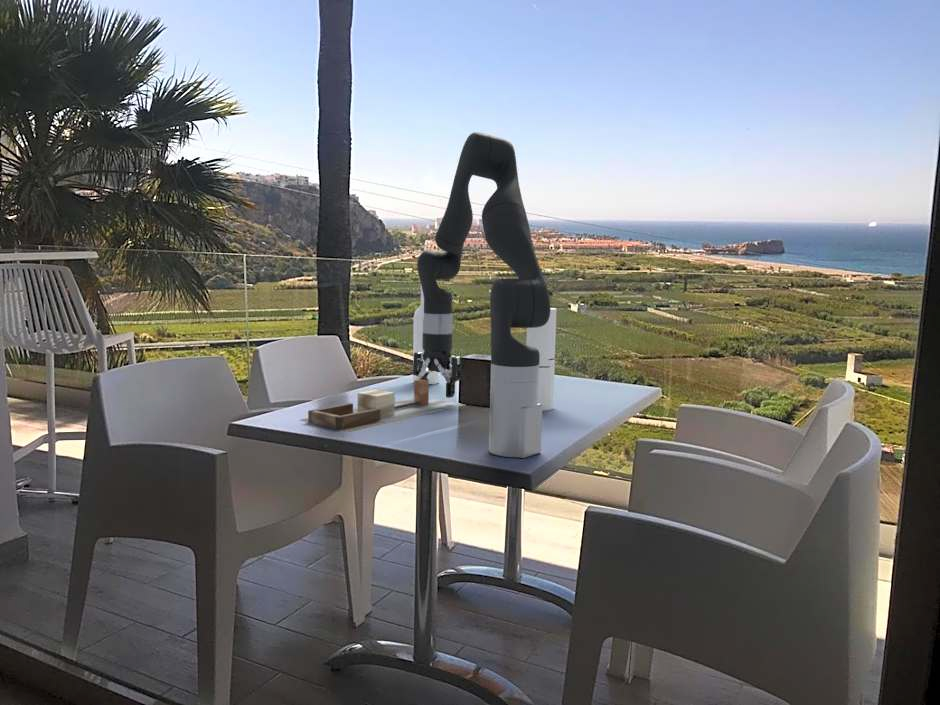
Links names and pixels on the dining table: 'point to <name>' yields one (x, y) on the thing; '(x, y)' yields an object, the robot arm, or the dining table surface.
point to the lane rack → (372, 414)
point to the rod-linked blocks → (392, 399)
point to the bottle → (417, 340)
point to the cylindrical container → (545, 358)
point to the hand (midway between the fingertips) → (436, 395)
